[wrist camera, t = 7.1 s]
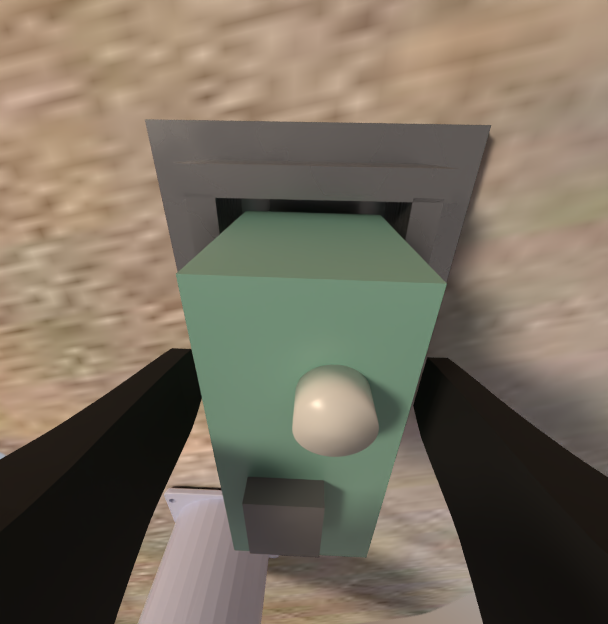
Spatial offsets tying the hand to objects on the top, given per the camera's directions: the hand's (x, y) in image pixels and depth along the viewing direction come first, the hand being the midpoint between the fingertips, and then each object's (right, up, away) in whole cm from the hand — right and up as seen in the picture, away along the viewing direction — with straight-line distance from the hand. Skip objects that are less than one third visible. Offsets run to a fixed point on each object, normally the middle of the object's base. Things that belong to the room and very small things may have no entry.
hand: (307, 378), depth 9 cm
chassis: (0, +2, +4) cm, 5 cm away
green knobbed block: (0, +1, +2) cm, 2 cm away
